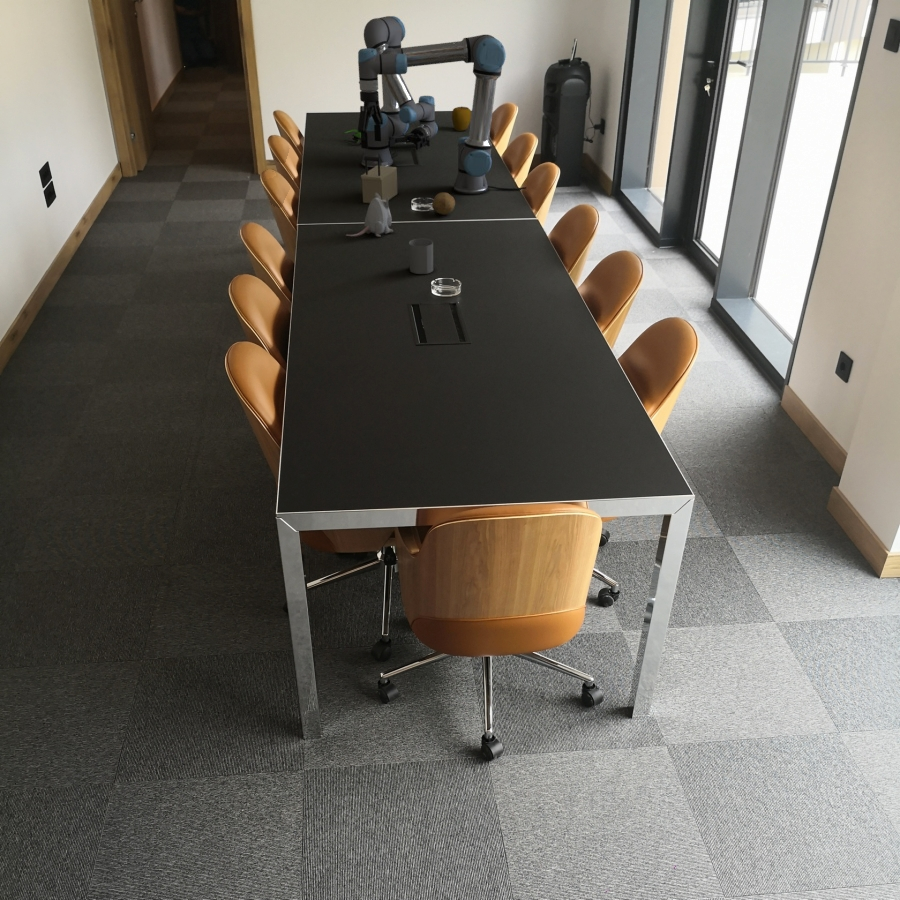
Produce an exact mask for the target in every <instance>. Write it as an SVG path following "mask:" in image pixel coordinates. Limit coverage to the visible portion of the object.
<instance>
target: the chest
mask: <svg viewBox="0 0 900 900" xmlns="http://www.w3.org/2000/svg"><path fill="white" fill-rule="evenodd" d="M361 188H362V203H364V204H365V203H366V204H370V202H371V200H372V199H374V198H375V193H377V194H378V195H379V196H380V198H381V200H385V201H386V198H387V197H388V201H390V200H391V199H393V198H394V197H395V196H397V195H398V169H397V170H396V171H394V172H393V173H391V174H390V175H388V176H387V177H385V178H383V179H382V180H372V179H362V178H361Z"/></svg>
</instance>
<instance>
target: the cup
mask: <svg viewBox="0 0 900 900" xmlns="http://www.w3.org/2000/svg"><path fill="white" fill-rule="evenodd" d="M408 253H409V272H411V273H412V274H416V275H426V274H430V273H432V272H434V241H433V240H431V239H428V238H422V237H421V238H420V237H419V238H414V239H411V240H410V241H409V242H408Z"/></svg>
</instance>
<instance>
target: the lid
mask: <svg viewBox="0 0 900 900" xmlns="http://www.w3.org/2000/svg"><path fill="white" fill-rule="evenodd" d="M364 160H365V167H364V168H365V173H363V174H361V175H360V179H361V180H362V179H372V180H382V179H383V178H385V177H387V176H388V175H390V174H391V173H393V172H394V171H396V170H397V171H398V167H396V166H391V167H389V166H380V160H381V159H380V157H373V156H364ZM367 161H375V162H378V165H377V166H376V167H374V168H373V169H371V168H370V169H369V168H368V167H367ZM368 169H369V170H368Z"/></svg>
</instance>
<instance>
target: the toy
mask: <svg viewBox="0 0 900 900" xmlns="http://www.w3.org/2000/svg"><path fill="white" fill-rule="evenodd" d="M389 205H390V204H389V200H388V197H387V198H386V201H385V200H381V198H380V196H379V195H378V194H377V193H375V198H374V199H372V200H371V202H370V203H369V205H368V207H367V211H366V215H365V217H364V223H363V225H364V229H362V230H361V231H359V232H358V233H354V234H346V236H348V237H359V236H362V235H363V234H365V233H366V234H371V233H372V234H374V235H375V237H378V238H382V236H381V235H382V234H383V233H384V234H385V235H387V234H389V233H394V230H393V228H390V227H391V226H392V220H393V219H392V218H393V217H392V214H391V211H390V206H389Z"/></svg>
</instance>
